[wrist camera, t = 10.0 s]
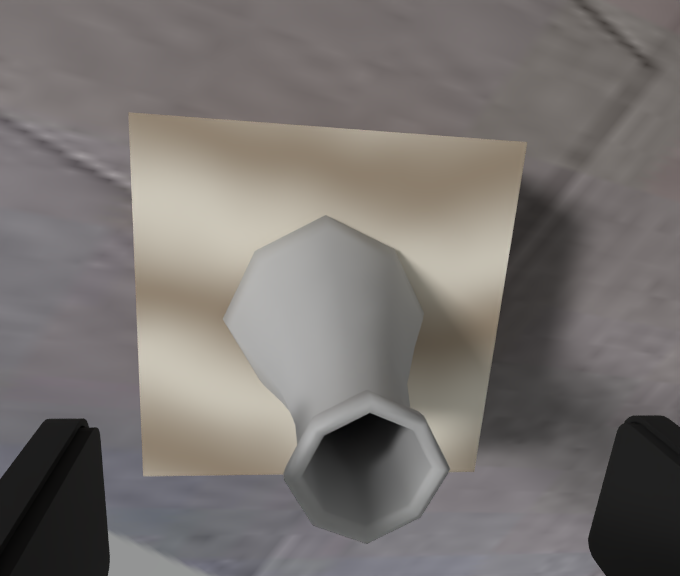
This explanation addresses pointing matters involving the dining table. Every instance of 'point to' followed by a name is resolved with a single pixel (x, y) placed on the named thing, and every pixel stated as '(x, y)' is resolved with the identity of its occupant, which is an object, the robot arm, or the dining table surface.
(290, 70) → the dining table surface
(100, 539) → the robot arm
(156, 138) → the grooved beige box
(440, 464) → the flask
